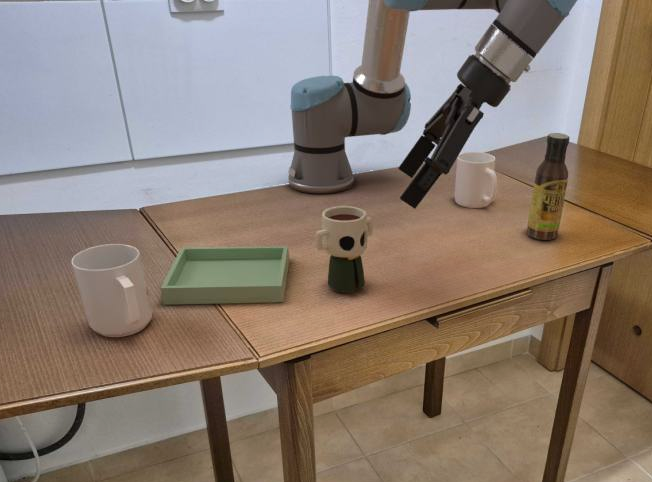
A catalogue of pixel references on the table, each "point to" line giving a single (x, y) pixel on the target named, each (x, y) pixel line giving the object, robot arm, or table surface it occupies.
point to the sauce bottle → (549, 190)
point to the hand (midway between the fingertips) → (406, 187)
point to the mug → (113, 289)
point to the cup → (475, 180)
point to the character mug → (344, 245)
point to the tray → (227, 275)
